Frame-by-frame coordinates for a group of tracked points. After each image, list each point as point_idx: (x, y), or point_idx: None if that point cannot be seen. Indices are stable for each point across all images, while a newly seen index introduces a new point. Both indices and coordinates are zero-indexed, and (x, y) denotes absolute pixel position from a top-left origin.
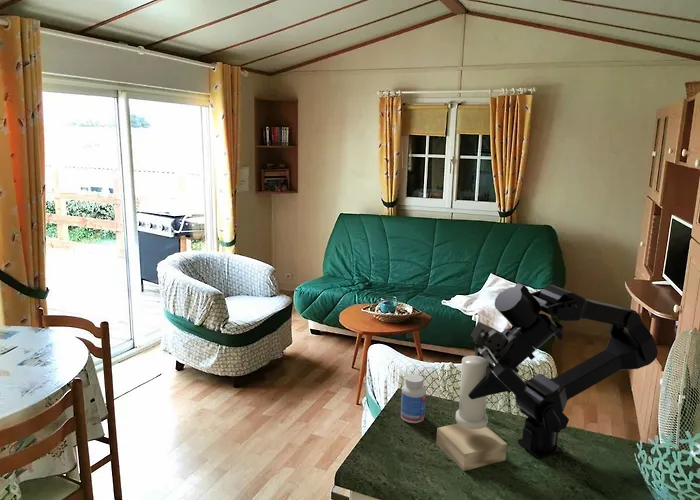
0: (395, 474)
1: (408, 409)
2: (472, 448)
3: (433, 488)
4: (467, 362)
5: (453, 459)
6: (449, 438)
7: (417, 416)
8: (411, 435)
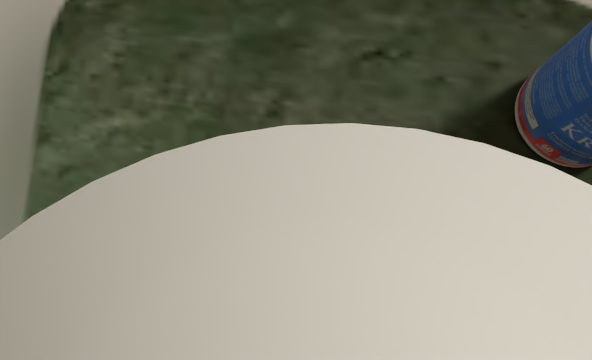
0: (156, 13)
1: (550, 61)
2: None
3: (67, 131)
4: (194, 302)
5: None
6: None
7: (532, 118)
8: (416, 96)
